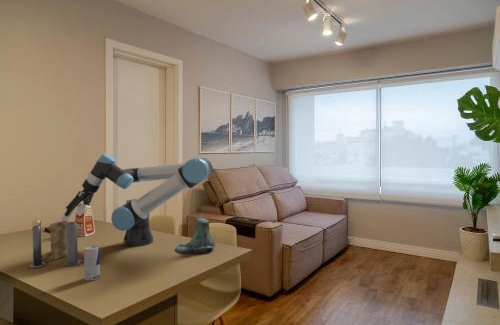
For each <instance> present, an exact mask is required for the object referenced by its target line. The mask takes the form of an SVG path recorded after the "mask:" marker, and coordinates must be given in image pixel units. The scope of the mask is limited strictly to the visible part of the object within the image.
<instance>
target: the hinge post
mask: <svg viewBox="0 0 500 325" xmlns="http://www.w3.org/2000/svg"><path fill="white" fill-rule="evenodd" d="M31 227H32V228H31V229H32V255H33V256H32V261H33V262H32V264H29V266H28V268H29V269H41V268H44V267H46V266H47V263H46V262H42V255H43V254H42V229H41V228H42V222H41V220H39V219H34V220H33V221H32V222H31Z"/></svg>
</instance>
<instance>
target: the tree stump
mask: <svg viewBox="0 0 500 325" xmlns="http://www.w3.org/2000/svg"><path fill="white" fill-rule="evenodd" d="M193 228H194V235H193V236H192V237H191V238H190V241H188V242H187V243H184V244H182V243H179V245H178V246H177V247H175V251H176V252H178V253H179V254H181V253H182V254H200V253H201V254H202V253H205V252H207V251H209V250H211V249H212V248H214V247H215V246H216V241H213V239H212V236H211V233H210V229H211V228H210V222H209V220H208V219H206V218H204V217H197V218H196V220H195V224H194V227H193Z"/></svg>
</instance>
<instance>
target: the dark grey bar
mask: <svg viewBox="0 0 500 325" xmlns="http://www.w3.org/2000/svg"><path fill="white" fill-rule="evenodd" d="M67 244H68V255H67V261H66V262H65V263H63V265H62V267H63V268H64V267H65V268H66V267H67V268H68V267H79V266H80V265H81V263H83V262H84V259H80V260H79V258H78V257H79V256H78V255H79V254H78V253H79V250H78V249H79V248H78V236H77V222H75V221H71V222H70V221H69V222H68V223H67Z"/></svg>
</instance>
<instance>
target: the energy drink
mask: <svg viewBox="0 0 500 325" xmlns="http://www.w3.org/2000/svg"><path fill="white" fill-rule="evenodd" d="M100 254H101V253H100V246H99V245H88V246H86V247H84V249H83V264H84V265H83V266H84V269H83V270H84V272H83V274H84V281H87V282H92V281H96V280H98V279H99V278H101V277H100V276H101V267H100V265H101V262H100V261H101V260H100Z"/></svg>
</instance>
